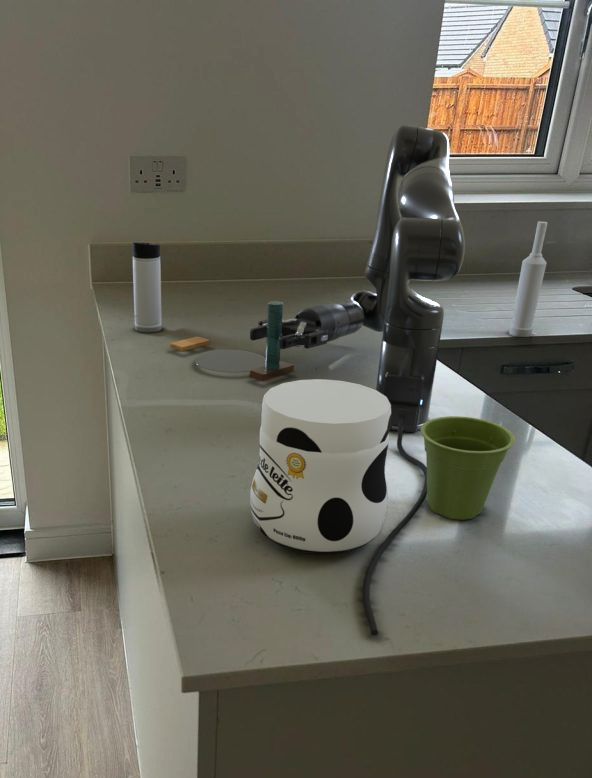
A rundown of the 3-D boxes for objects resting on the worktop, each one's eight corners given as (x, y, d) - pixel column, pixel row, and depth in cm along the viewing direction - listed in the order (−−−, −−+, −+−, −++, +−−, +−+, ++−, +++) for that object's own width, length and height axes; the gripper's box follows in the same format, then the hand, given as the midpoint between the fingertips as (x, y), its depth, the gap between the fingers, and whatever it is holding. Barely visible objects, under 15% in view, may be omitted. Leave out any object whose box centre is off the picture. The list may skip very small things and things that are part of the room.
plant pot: (393, 496, 111) (403, 422, 105) (462, 484, 114) (476, 411, 109) (443, 536, 101) (457, 457, 95) (517, 521, 105) (535, 443, 99)
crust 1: (182, 356, 167) (182, 347, 166) (170, 352, 169) (169, 343, 168) (196, 352, 169) (196, 343, 168) (183, 348, 172) (183, 339, 171)
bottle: (533, 338, 182) (557, 224, 170) (509, 336, 182) (532, 223, 170) (529, 332, 186) (552, 221, 174) (506, 330, 187) (528, 220, 175)
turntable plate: (257, 381, 153) (257, 375, 152) (184, 373, 157) (184, 367, 156) (274, 359, 166) (274, 353, 165) (206, 352, 170) (206, 346, 169)
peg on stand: (280, 372, 158) (284, 297, 151) (293, 376, 156) (298, 300, 148) (249, 382, 152) (252, 305, 145) (262, 386, 150) (266, 308, 143)
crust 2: (196, 352, 169) (196, 343, 168) (184, 348, 172) (184, 339, 171) (209, 349, 172) (210, 340, 171) (197, 345, 174) (197, 336, 173)
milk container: (222, 535, 100) (225, 403, 92) (294, 488, 112) (303, 367, 104) (340, 583, 91) (356, 440, 83) (406, 525, 103) (425, 396, 95)
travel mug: (129, 330, 183) (125, 241, 174) (144, 324, 189) (141, 237, 179) (152, 334, 181) (149, 244, 171) (166, 327, 186) (165, 240, 176)
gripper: (296, 299, 161) (239, 312, 151) (352, 312, 152) (295, 327, 142) (294, 334, 165) (238, 350, 155) (348, 350, 156) (292, 367, 146)
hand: (265, 339), depth 149 cm, fingers open, 7 cm apart
